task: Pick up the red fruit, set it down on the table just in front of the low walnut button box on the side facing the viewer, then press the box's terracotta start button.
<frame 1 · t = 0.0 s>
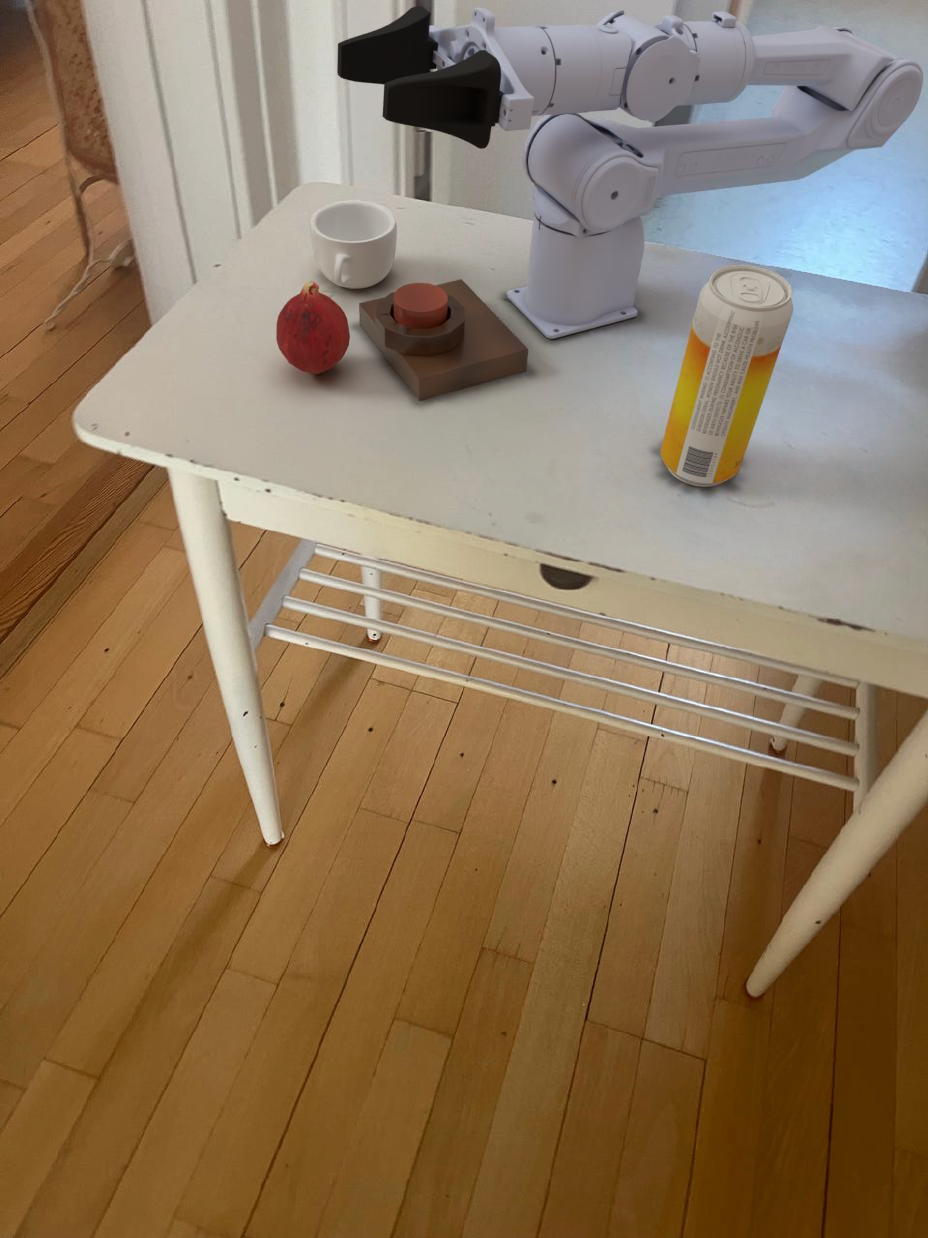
hand: (361, 80, 64), 22 cm above the table, tool horizontal, fingers open, 7 cm apart
button box: (441, 348, 82), on the table
teacup: (353, 284, 88), on the table
beer can: (697, 467, 73), on the table
start button: (420, 306, 78), point 4 cm above the table, slide at 0.1 cm
red fruit: (316, 374, 79), on the table
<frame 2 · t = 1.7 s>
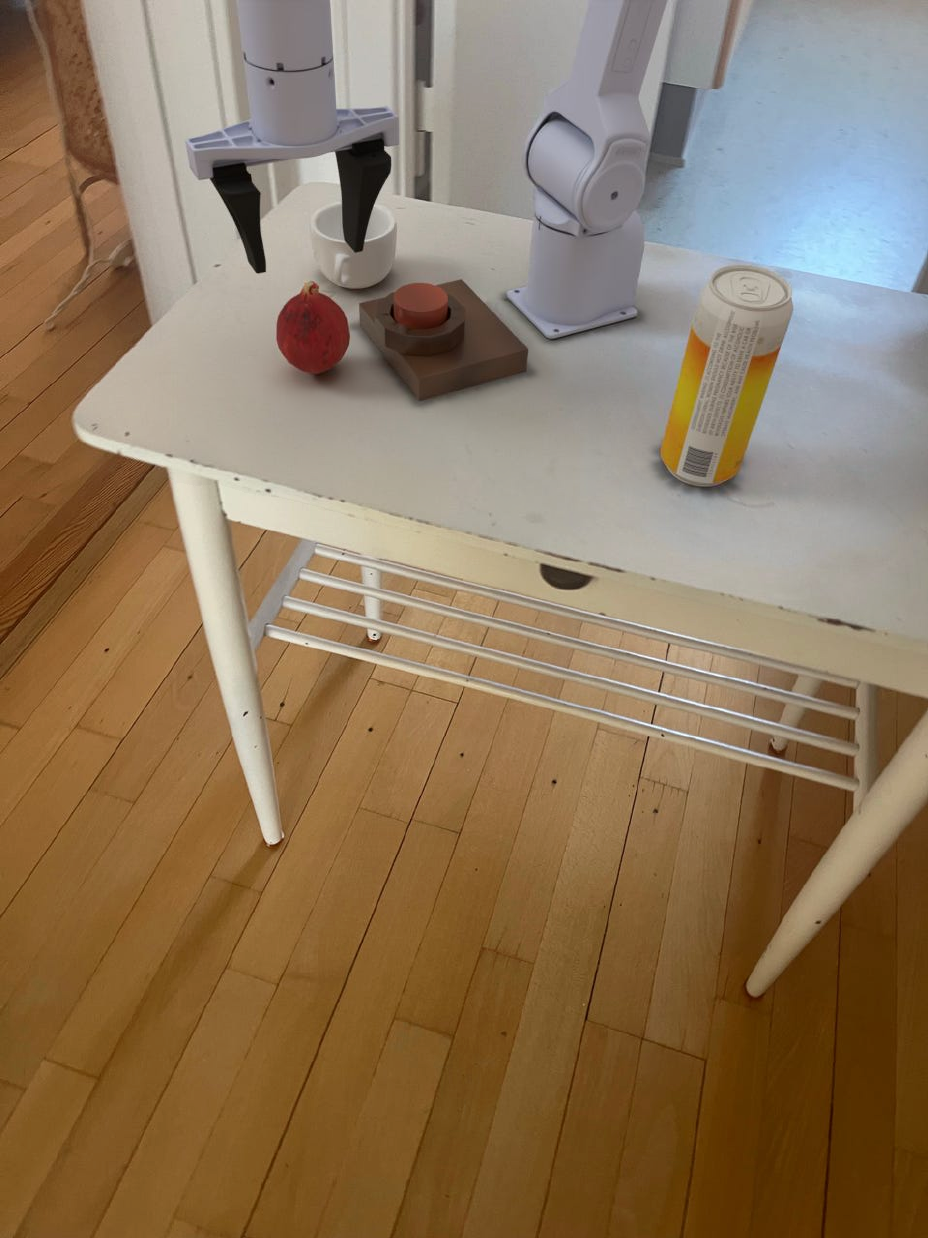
hand: (306, 256, 71), 10 cm above the table, tool pointing down, fingers open, 7 cm apart
nothing on the table moved.
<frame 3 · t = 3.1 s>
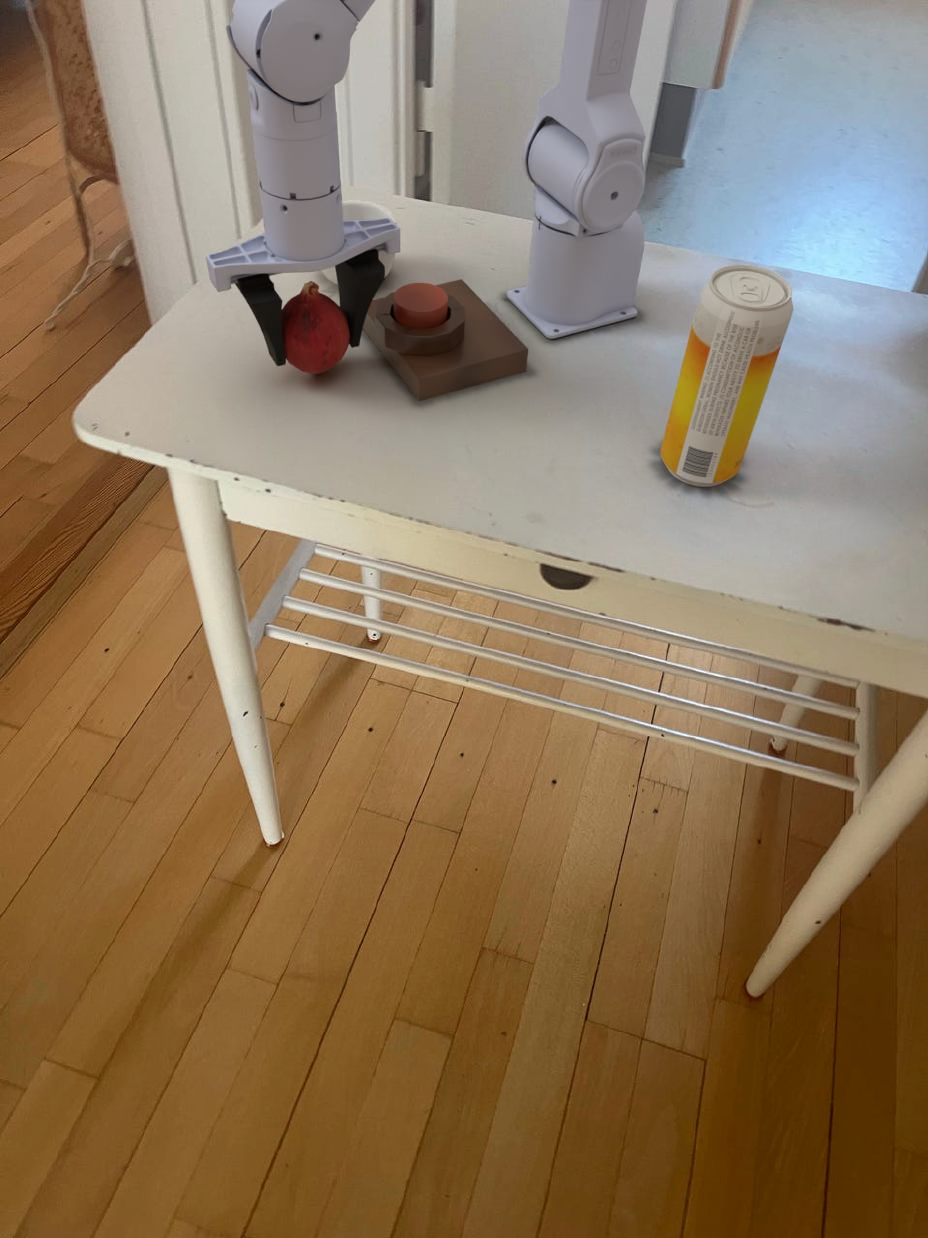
hand: (315, 349, 77), 2 cm above the table, tool pointing down, fingers closed on red fruit, 6 cm apart
red fruit: (316, 375, 79), on the table, touching gripper
everything else where it was.
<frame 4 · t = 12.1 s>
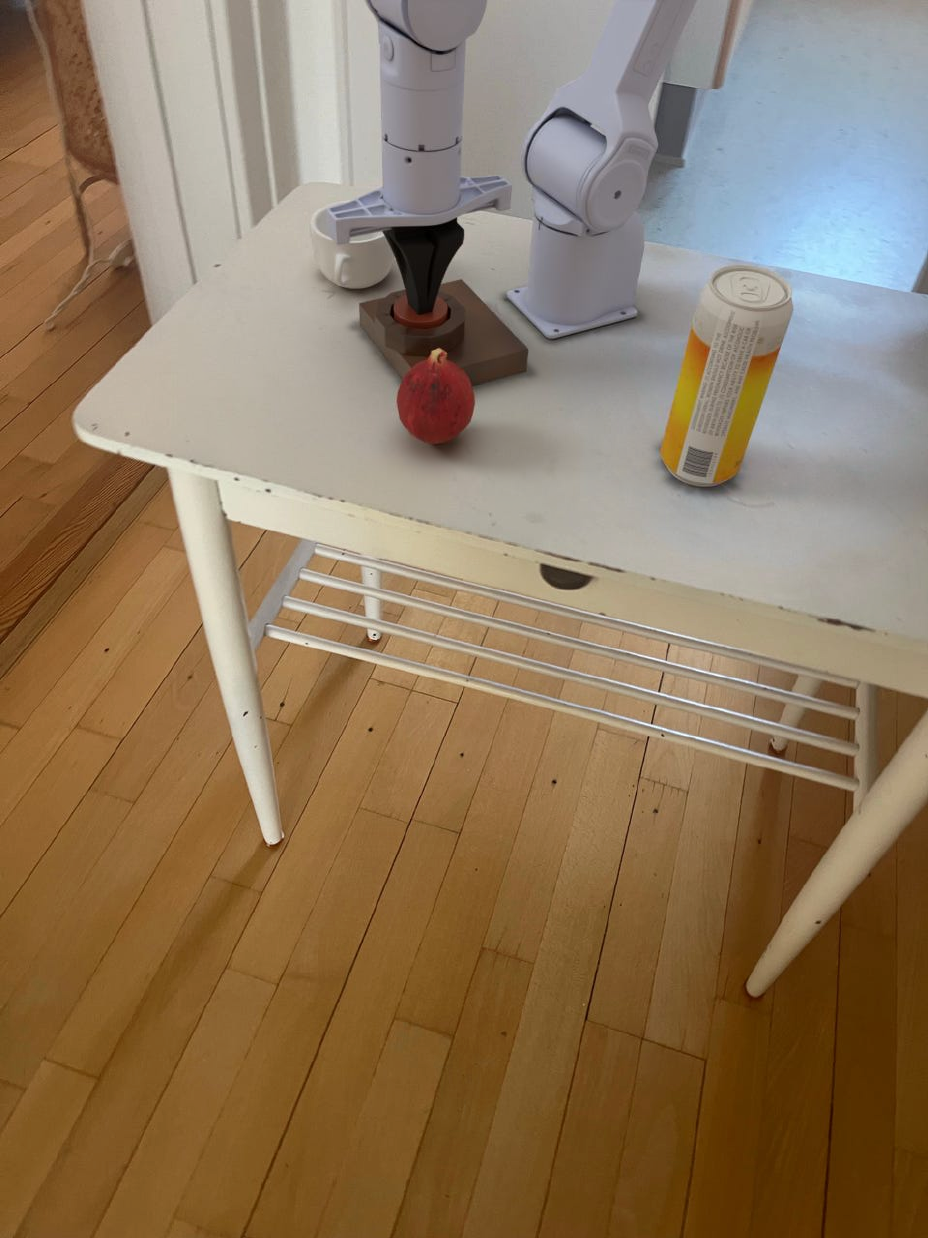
hand: (420, 307, 78), 4 cm above the table, tool pointing down, fingers closed, pressing on start button
start button: (420, 316, 78), point 4 cm above the table, slide at -0.8 cm, touching gripper
red fruit: (434, 443, 74), on the table
everything else where it was.
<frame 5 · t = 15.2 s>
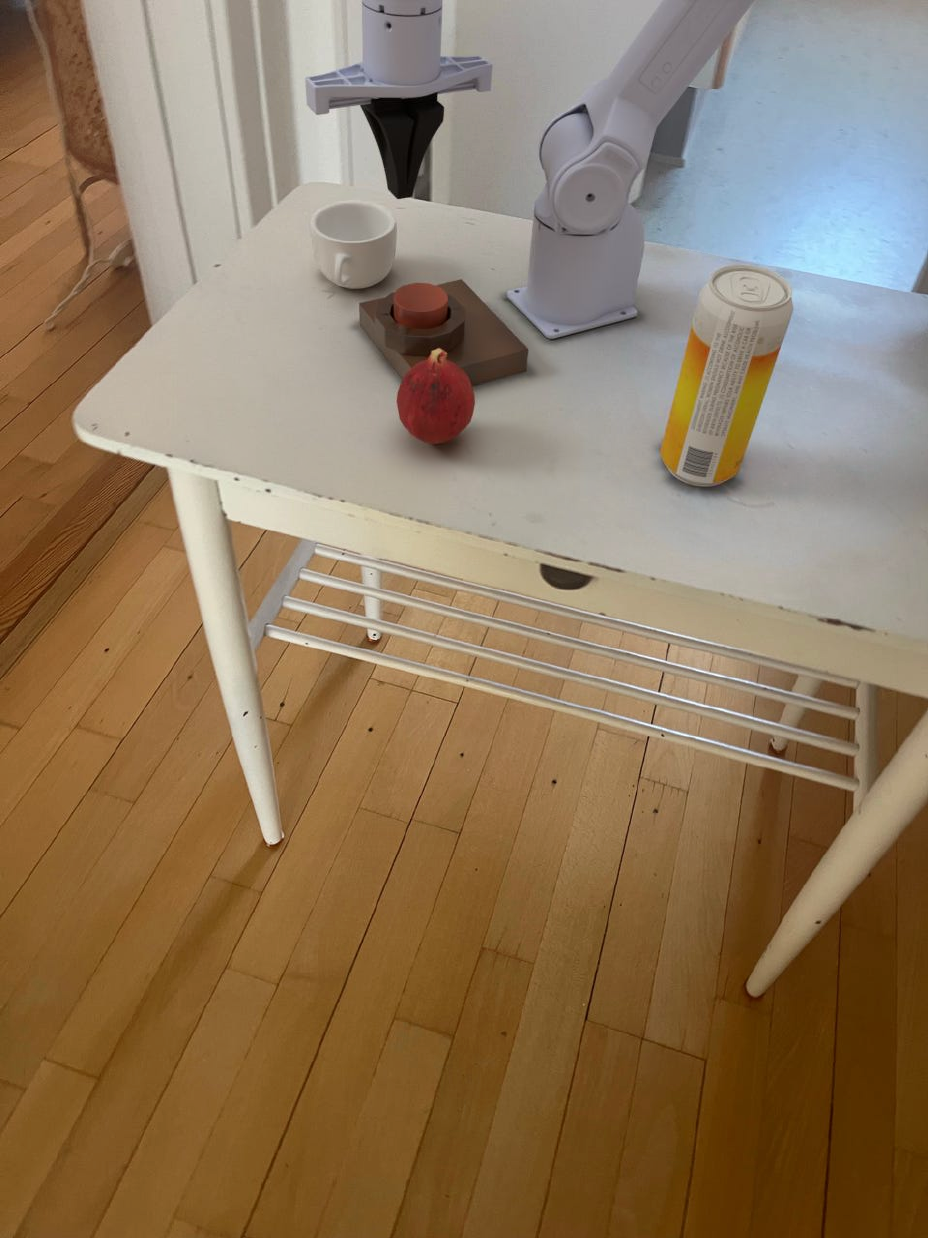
hand: (400, 192, 78), 10 cm above the table, tool pointing down, fingers closed
start button: (420, 306, 78), point 4 cm above the table, slide at 0.1 cm
everything else where it was.
at the end: red fruit inside the target area on the table beside the button box (0.2 cm from its centre), on the table; start button pushed in 1.0 cm at the most during the clip, back to where it started at the end; start button slide at 0.1 cm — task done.
